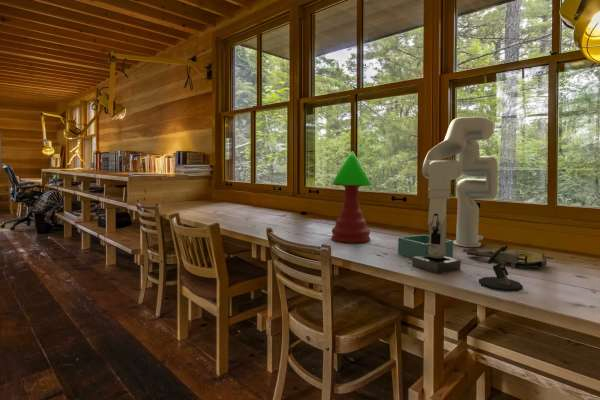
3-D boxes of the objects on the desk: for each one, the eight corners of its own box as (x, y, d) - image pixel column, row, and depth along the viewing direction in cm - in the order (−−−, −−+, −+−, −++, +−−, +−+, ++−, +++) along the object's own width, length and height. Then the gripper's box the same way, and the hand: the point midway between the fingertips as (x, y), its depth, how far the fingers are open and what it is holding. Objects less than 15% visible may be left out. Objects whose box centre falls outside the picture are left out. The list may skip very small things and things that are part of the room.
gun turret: (469, 272, 139) (471, 237, 137) (531, 286, 124) (533, 246, 122) (451, 279, 130) (453, 242, 129) (515, 295, 115) (518, 253, 114)
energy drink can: (425, 254, 148) (427, 215, 146) (441, 254, 148) (442, 215, 146) (432, 258, 142) (433, 218, 140) (448, 258, 142) (449, 218, 140)
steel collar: (434, 262, 153) (435, 253, 153) (460, 269, 143) (460, 260, 142) (412, 265, 147) (412, 256, 147) (437, 274, 137) (437, 264, 137)
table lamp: (374, 237, 202) (376, 151, 198) (364, 245, 184) (366, 149, 180) (338, 234, 210) (339, 151, 206) (325, 241, 192) (326, 150, 188)
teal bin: (424, 249, 175) (424, 234, 174) (452, 257, 161) (453, 240, 160) (397, 253, 167) (398, 237, 167) (425, 261, 154) (426, 244, 153)
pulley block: (472, 239, 167) (554, 249, 148) (472, 251, 168) (553, 264, 149) (461, 249, 156) (548, 262, 137) (461, 263, 158) (547, 277, 139)
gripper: (432, 191, 152) (431, 237, 154) (423, 195, 137) (421, 245, 139) (453, 192, 148) (451, 239, 150) (445, 196, 133) (444, 248, 135)
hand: (437, 241), depth 144 cm, fingers closed on energy drink can, 6 cm apart
